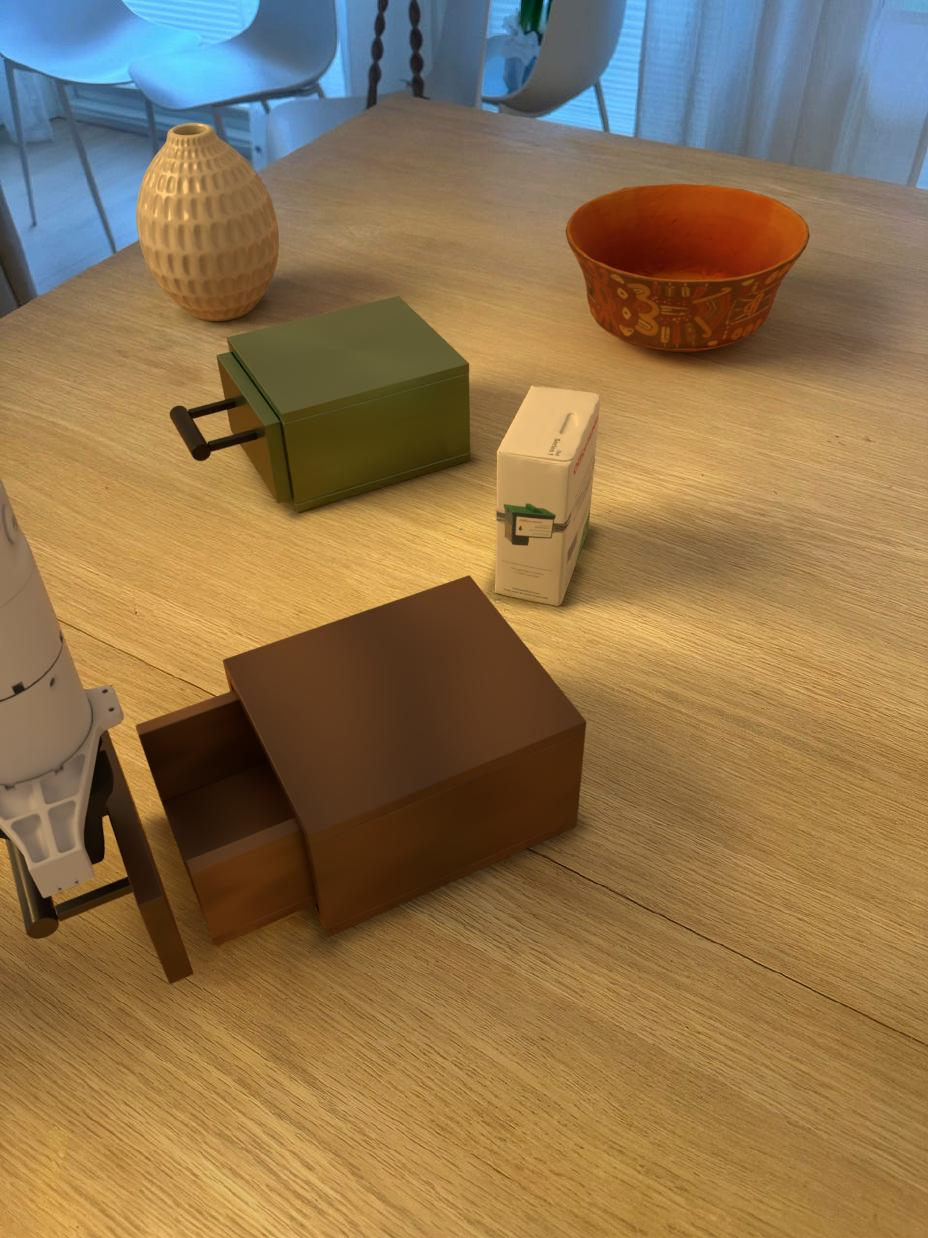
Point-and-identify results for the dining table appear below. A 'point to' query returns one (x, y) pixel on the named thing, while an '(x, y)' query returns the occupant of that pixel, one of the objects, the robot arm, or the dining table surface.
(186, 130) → the vase
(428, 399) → the green drawer cabinet
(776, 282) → the bowl
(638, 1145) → the dining table surface
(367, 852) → the brown drawer cabinet
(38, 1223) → the dining table surface
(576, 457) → the ink box
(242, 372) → the drawer
